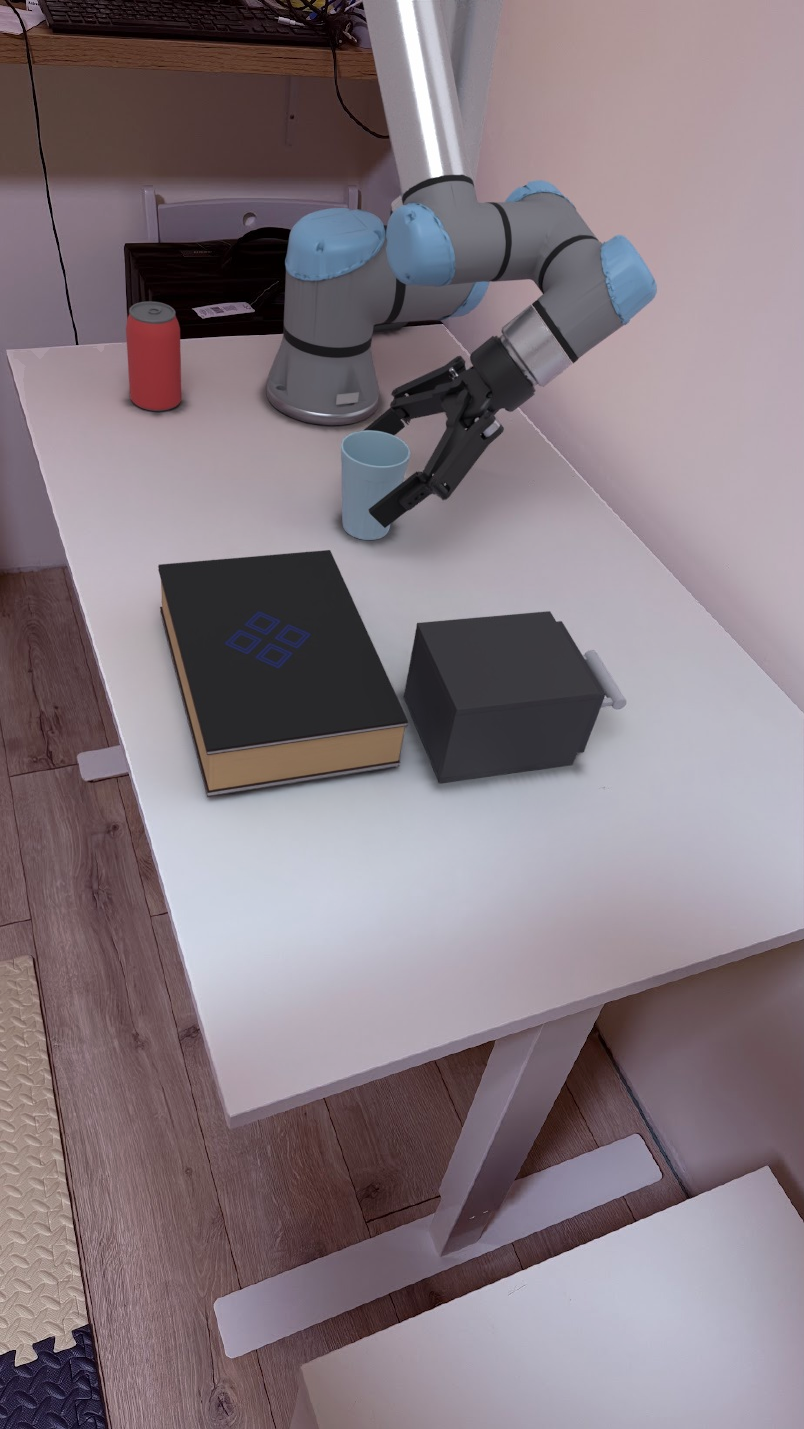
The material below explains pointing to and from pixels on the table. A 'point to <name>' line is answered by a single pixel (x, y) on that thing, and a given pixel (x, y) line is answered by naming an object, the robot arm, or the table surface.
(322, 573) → the book
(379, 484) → the cup
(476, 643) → the cabinet
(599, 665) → the drawer
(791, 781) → the table surface
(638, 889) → the table surface
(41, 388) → the table surface
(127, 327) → the beer can
